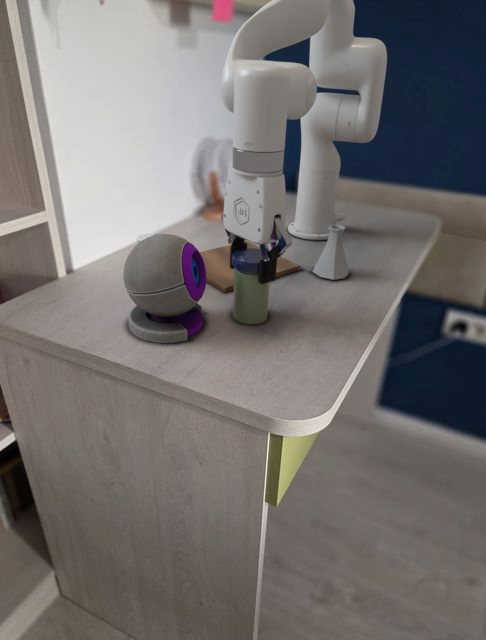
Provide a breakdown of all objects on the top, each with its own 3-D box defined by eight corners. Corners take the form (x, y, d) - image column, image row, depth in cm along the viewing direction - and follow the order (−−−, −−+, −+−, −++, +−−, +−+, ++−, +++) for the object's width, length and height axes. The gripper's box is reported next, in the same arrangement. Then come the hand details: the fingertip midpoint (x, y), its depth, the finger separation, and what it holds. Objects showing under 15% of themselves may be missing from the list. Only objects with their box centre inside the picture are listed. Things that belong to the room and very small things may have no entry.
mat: (246, 244, 117) (246, 240, 116) (300, 269, 105) (300, 265, 104) (173, 262, 106) (173, 258, 105) (224, 292, 94) (224, 287, 93)
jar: (246, 305, 90) (248, 250, 84) (273, 315, 87) (278, 259, 82) (225, 317, 86) (227, 260, 80) (254, 328, 83) (257, 269, 77)
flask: (327, 264, 108) (333, 219, 103) (354, 274, 104) (362, 227, 99) (306, 272, 104) (311, 225, 99) (334, 283, 100) (341, 235, 94)
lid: (223, 266, 81) (224, 256, 80) (247, 254, 85) (248, 245, 84) (258, 276, 77) (258, 266, 77) (280, 264, 82) (281, 254, 81)
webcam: (194, 347, 77) (192, 255, 69) (115, 337, 78) (105, 246, 70) (213, 310, 88) (214, 226, 80) (144, 301, 89) (138, 219, 81)
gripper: (202, 153, 76) (203, 262, 86) (279, 176, 65) (270, 299, 75) (240, 149, 81) (237, 253, 90) (318, 170, 69) (305, 287, 79)
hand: (252, 273), depth 82 cm, fingers closed on lid, 6 cm apart
